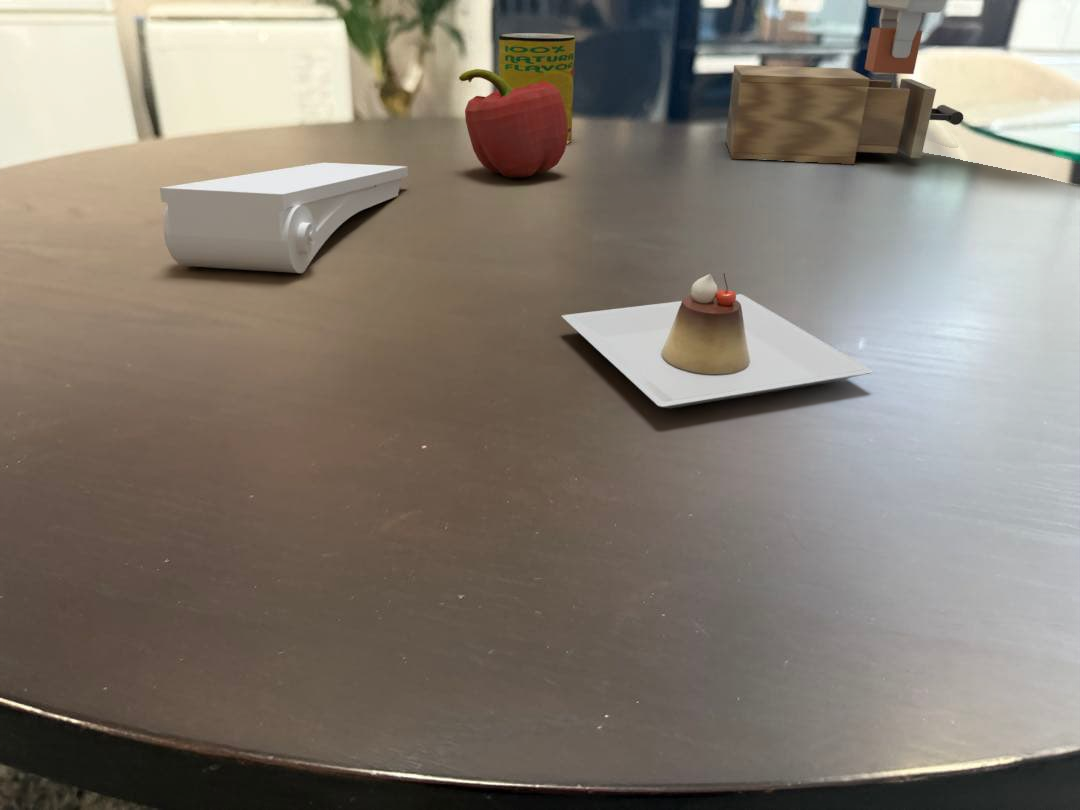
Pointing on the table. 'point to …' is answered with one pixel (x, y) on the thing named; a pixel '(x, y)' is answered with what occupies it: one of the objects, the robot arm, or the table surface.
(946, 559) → the table surface
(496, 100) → the vegetable
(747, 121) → the cabinet
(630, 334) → the dessert
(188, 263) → the wall bracket
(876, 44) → the block
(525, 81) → the beverage can
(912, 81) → the drawer
